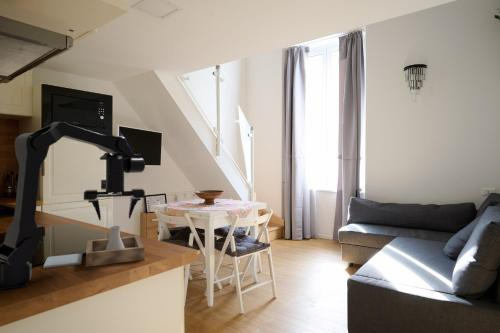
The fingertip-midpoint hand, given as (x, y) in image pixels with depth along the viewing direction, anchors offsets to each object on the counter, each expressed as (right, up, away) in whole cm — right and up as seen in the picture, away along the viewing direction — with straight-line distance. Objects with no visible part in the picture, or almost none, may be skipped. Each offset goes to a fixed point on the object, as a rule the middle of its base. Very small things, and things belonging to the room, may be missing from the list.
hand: (114, 219), depth 106 cm
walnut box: (0, -12, 0) cm, 12 cm away
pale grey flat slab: (-14, -12, -6) cm, 19 cm away
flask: (0, -13, 0) cm, 13 cm away
